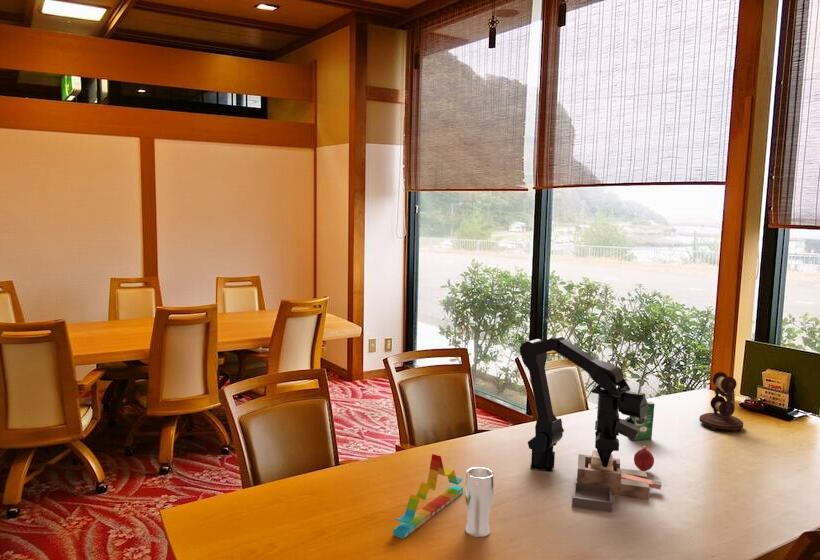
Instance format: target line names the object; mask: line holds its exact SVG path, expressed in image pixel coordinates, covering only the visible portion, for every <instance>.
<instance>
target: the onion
mask: <svg viewBox="0 0 820 560" xmlns="http://www.w3.org/2000/svg"><path fill="white" fill-rule="evenodd" d="M647 448H648V447H647V446H646V445H644V446H642V448H641V449H639V450H637V452H635V454H634V456H633V463H634V465H635V467H636V468H637V469H638V471H646V472H647V471H649V470H651V468H652V467H653V466H654V464H655V458H654V455H653V453H652V452H651V451H650V450H649V449H647Z"/></svg>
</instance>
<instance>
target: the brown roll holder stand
mask: <svg viewBox="0 0 820 560" xmlns="http://www.w3.org/2000/svg"><path fill="white" fill-rule="evenodd" d="M712 383H713V384H714V386H715V388H714V389H713V391H714V394H715V395H714V397H712V399H711V401H710V407H711V408H712V409H713V410H712V411H713V412H705V413H702V414H701V415H700V416H699V417H698V418H699V422H700V423H701V424H703V425H706V426H708V427H711V429H712V431H716V429H721V430H730V431H732V430H738V432H741V431H742V429H743V427H744V422H743V421H742V420H741V419H740V418H738V417H737V416H734V415H733V414H734V412H735V409H736V405H735V403H736V400H735V399H736V397H735V395H736V394H735V389H736V388H737V385H738V384H737V380H736V379H735V378H734V377H733V376H728V374H726V372H723V371H718V372H716V373H714V374H713V377H712Z"/></svg>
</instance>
